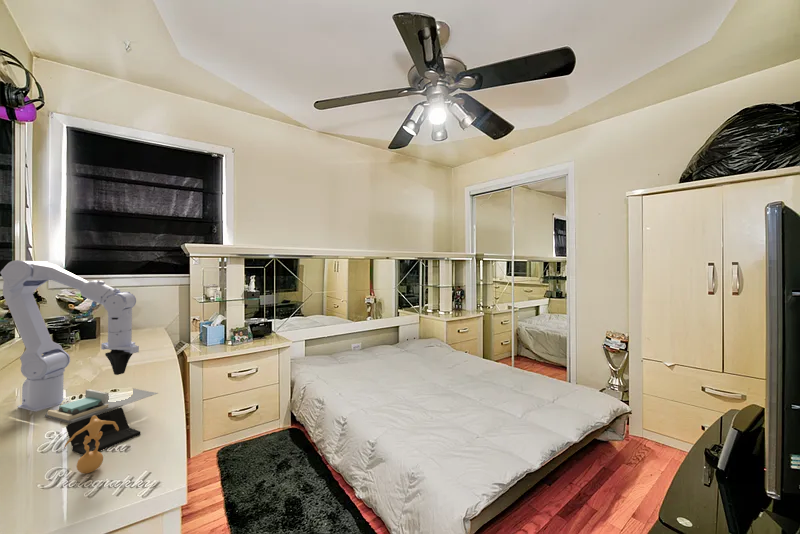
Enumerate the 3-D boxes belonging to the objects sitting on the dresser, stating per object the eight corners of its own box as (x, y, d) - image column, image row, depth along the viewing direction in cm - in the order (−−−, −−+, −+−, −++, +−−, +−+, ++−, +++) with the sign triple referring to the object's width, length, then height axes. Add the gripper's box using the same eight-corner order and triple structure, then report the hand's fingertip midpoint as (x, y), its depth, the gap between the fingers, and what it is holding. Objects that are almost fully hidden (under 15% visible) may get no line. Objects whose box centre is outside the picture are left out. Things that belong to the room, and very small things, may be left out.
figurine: (112, 458, 71) (113, 404, 71) (122, 467, 68) (123, 410, 68) (58, 479, 64) (59, 418, 64) (67, 490, 61) (68, 426, 61)
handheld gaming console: (93, 451, 72) (80, 410, 74) (71, 468, 72) (59, 427, 75) (146, 433, 82) (133, 398, 85) (126, 448, 83) (114, 413, 86)
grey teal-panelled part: (53, 414, 90) (53, 399, 90) (90, 402, 98) (90, 388, 98) (73, 419, 87) (73, 403, 87) (109, 406, 95) (110, 392, 95)
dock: (44, 417, 90) (44, 409, 90) (133, 389, 111) (133, 383, 111) (71, 424, 86) (71, 416, 86) (158, 394, 107) (158, 387, 107)
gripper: (149, 330, 104) (148, 372, 104) (119, 327, 109) (118, 367, 108) (124, 334, 97) (123, 379, 97) (93, 330, 102) (93, 374, 102)
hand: (119, 373), depth 102 cm, fingers closed
